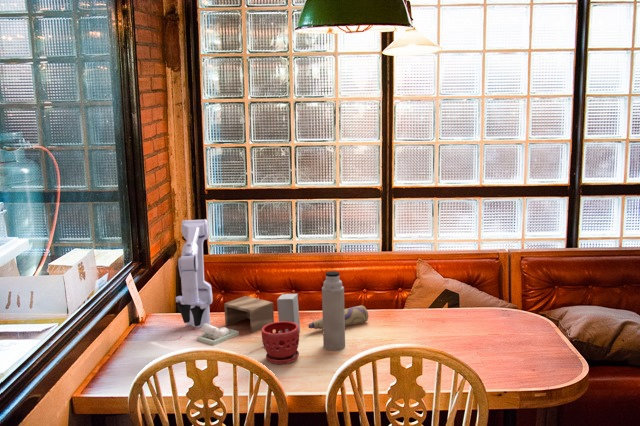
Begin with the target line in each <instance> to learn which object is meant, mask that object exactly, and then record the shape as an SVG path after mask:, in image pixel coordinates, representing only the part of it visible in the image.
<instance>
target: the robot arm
mask: <svg viewBox="0 0 640 426" xmlns="http://www.w3.org/2000/svg"><path fill="white" fill-rule="evenodd" d="M181 234H182V236H183V239H185V243H184V244H183V245H182V251H181V256H180V257H178V259H177V260H178V262H177V263H178V264H177V265H178V271H179V277H180V280H181V281H180V283H181V284H180V285H181V294H182V295H178V296H175V302H176V303H178V304H176V308H177V309H178V311H179V313H180V316H181V317H182V321H183V323H184V324H185V327H188V326H191V327H194V328H201V329H202V326H203V324H205V323H207V324H210V325H211V314H210V305H212V304H213V290H212V285H211V283H210V282H207V281H206V280H205V265H204V263H205V262H204V241H205V240H208V238H209V222H208V220H207V219H206V218H204V219H183V220H182V221H181Z"/></svg>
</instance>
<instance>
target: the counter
mask: <svg viewBox="0 0 640 426" xmlns="http://www.w3.org/2000/svg"><path fill="white" fill-rule="evenodd" d="M223 306H224V307H223V308H224V323H225V325H224V326H226V327H227V326H231V325H233V324H236V323H238V322H241V321H244V320H246V319H249V320H250V322H249V323H250V324H249V325H250V333H251V334H255V333H257V332H258V331H259V332H260V331H261V329H262V328H263V327H264V326H265V325H267V324H270V323H274V322H275V320H274V318H275V316H274V313H275V311H274V302H272V301H269V300H264V299H260V298H257V297H252V296H248V295H245V296H244V295H243V296H241V297H238V298H236V299H233V300H230V301H227V302H225V303H224V305H223Z"/></svg>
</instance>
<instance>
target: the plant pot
mask: <svg viewBox="0 0 640 426" xmlns="http://www.w3.org/2000/svg"><path fill="white" fill-rule="evenodd" d="M285 329H288V330H289V331H288V332H286V331H285ZM274 330H275V332H273V331H274ZM280 330H281V331H282V333H280ZM260 331H261V334H260V335H261V341H262V345H263V348H264V350H265V352H266V354H265V357H266V359H267V361H268V362H269V363H272V364H276V365H284V364H285V365H286V364H290V363H292V362H294V361H296V360H297V359H299V357H300V356H299V355H300V352H299V351H298V348H299V345H300V344H299V342H300V333H299V326H298V325H297V324H296V323H294V322H288V321H281V322H279V321H274V323H270V324H267V325H265V326H264V327H263V328H262V329H261V330H260Z"/></svg>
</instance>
